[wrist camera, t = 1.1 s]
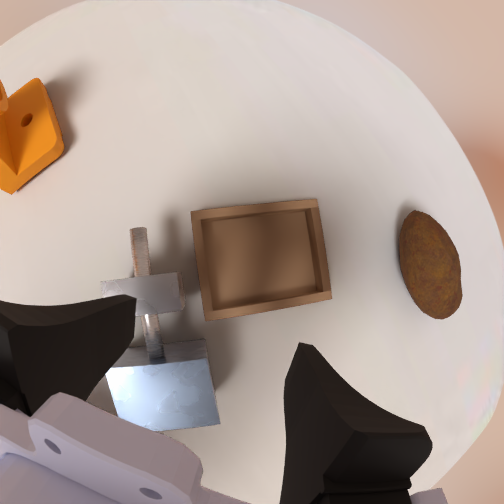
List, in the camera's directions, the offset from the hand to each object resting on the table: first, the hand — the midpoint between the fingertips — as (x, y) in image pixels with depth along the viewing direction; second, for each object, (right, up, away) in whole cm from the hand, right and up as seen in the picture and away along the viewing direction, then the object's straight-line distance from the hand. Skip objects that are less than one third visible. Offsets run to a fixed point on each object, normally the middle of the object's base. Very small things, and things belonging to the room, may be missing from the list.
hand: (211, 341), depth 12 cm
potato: (+18, +2, +16) cm, 24 cm away
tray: (+2, +3, +13) cm, 14 cm away
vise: (-6, -2, +11) cm, 13 cm away
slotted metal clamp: (-6, +1, +10) cm, 12 cm away
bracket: (-21, +16, +10) cm, 28 cm away
